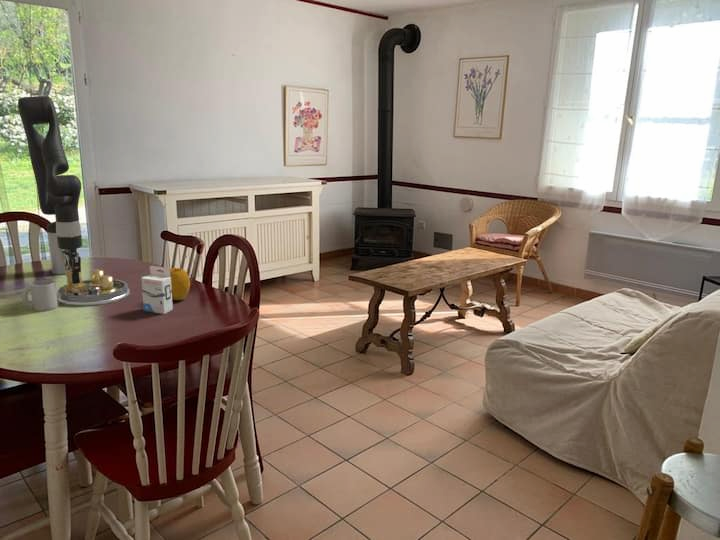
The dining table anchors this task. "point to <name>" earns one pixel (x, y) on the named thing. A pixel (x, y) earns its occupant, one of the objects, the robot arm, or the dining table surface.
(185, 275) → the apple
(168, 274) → the ink box
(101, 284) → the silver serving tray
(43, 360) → the dining table surface
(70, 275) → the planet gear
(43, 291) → the cup
